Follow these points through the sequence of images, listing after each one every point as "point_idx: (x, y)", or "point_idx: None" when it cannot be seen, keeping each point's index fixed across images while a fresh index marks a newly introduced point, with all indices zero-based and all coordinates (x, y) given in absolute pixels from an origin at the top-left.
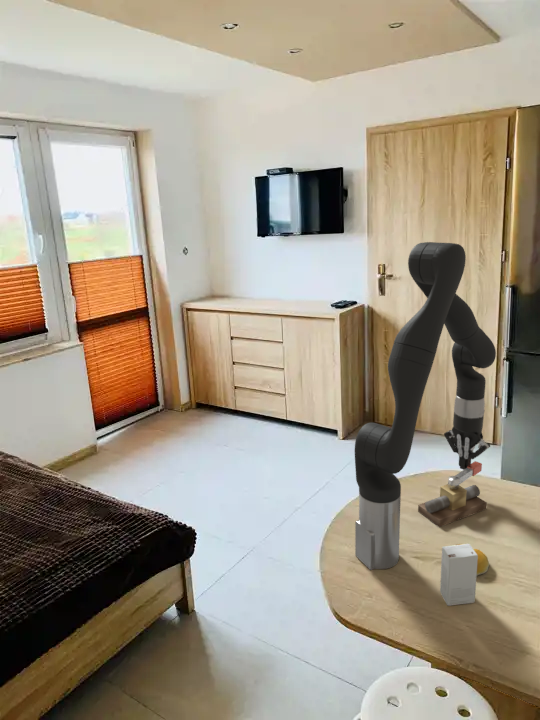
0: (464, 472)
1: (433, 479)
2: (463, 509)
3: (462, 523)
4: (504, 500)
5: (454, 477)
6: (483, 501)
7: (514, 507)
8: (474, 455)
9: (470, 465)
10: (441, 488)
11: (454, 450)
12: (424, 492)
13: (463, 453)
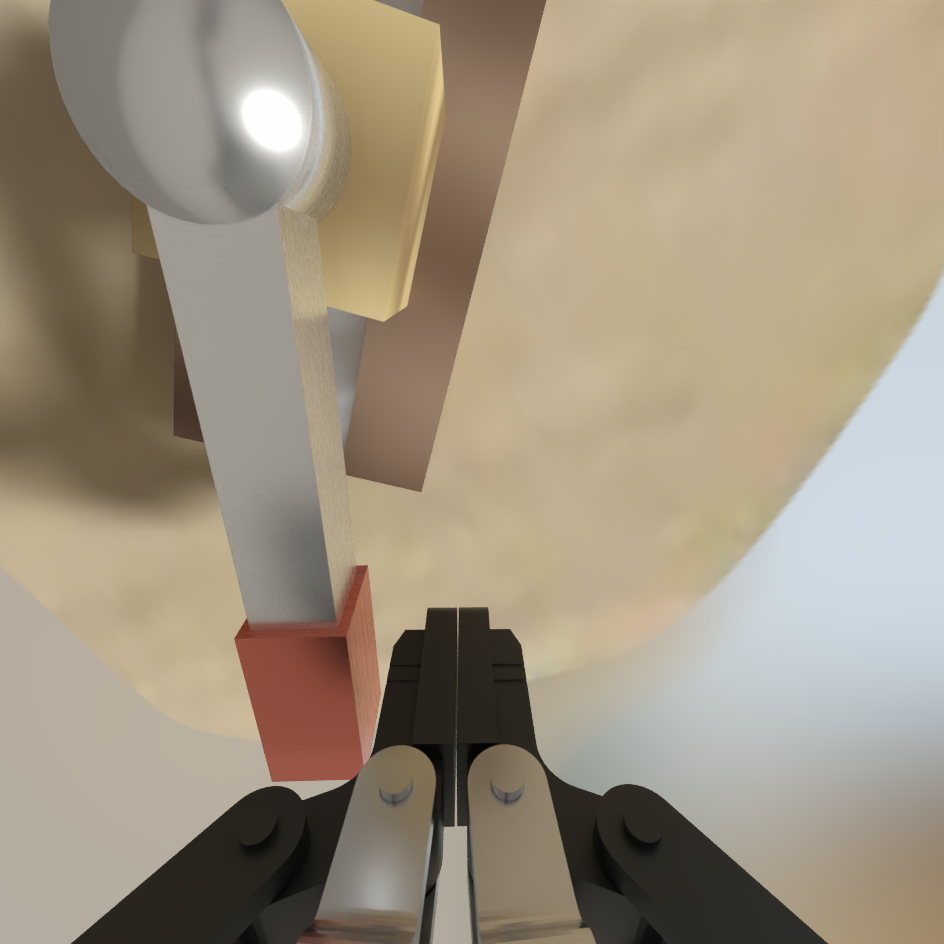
0: (263, 478)
1: (692, 496)
2: None
3: None
4: (214, 582)
5: (222, 156)
6: (200, 431)
7: (121, 557)
8: (181, 901)
9: (332, 676)
10: (413, 21)
11: (641, 827)
12: (672, 288)
13: (473, 835)
